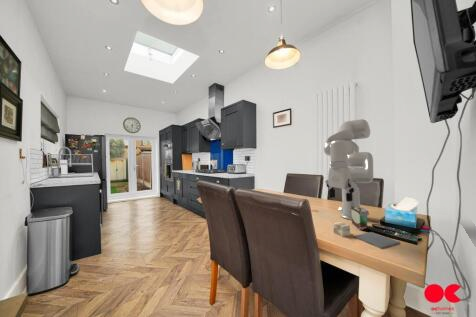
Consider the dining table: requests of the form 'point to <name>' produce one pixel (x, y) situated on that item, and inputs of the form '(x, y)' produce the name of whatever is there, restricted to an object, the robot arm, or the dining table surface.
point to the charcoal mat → (377, 240)
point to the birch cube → (341, 229)
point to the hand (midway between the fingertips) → (340, 199)
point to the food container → (359, 217)
